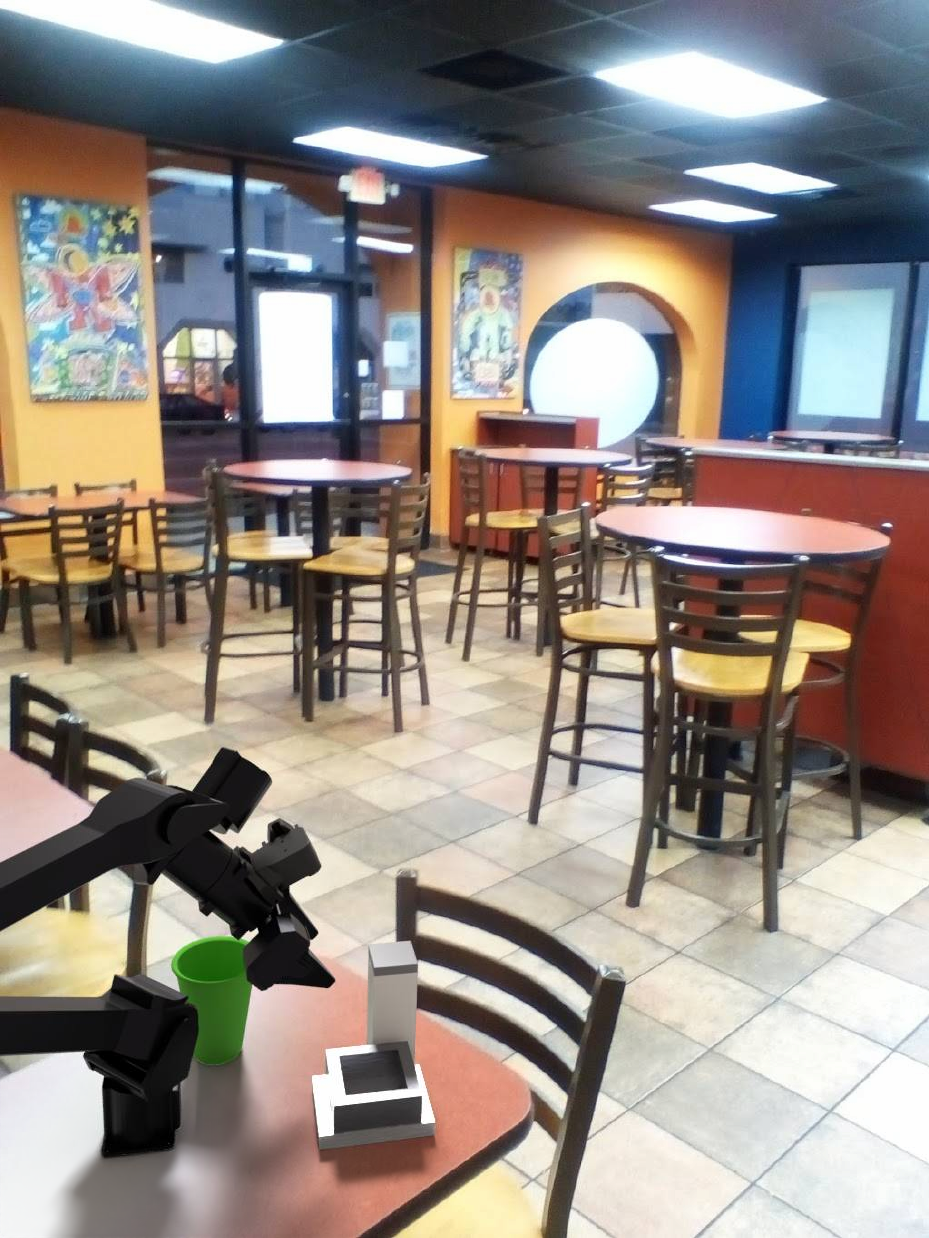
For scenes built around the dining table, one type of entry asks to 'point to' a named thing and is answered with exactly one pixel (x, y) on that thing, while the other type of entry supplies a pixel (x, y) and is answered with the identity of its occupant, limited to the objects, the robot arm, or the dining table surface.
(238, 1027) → the cup
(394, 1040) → the plug
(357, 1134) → the socket
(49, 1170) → the dining table surface
